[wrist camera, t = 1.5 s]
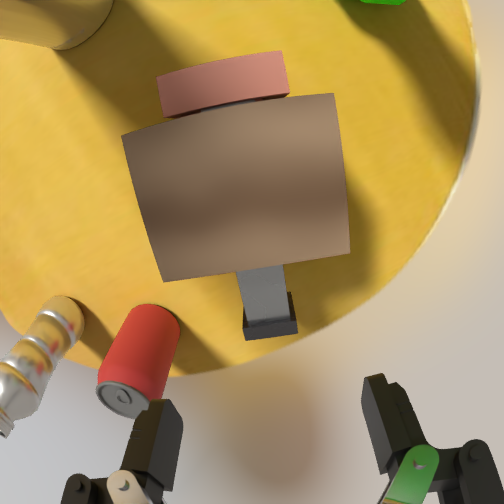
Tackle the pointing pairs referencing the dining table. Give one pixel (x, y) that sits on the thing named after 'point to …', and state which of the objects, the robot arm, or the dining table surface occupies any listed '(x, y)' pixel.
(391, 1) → the plastic bottle
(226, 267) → the brown wooden block
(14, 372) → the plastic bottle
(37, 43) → the robot arm
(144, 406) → the beer can
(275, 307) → the shaft
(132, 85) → the dining table surface
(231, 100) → the spacer
